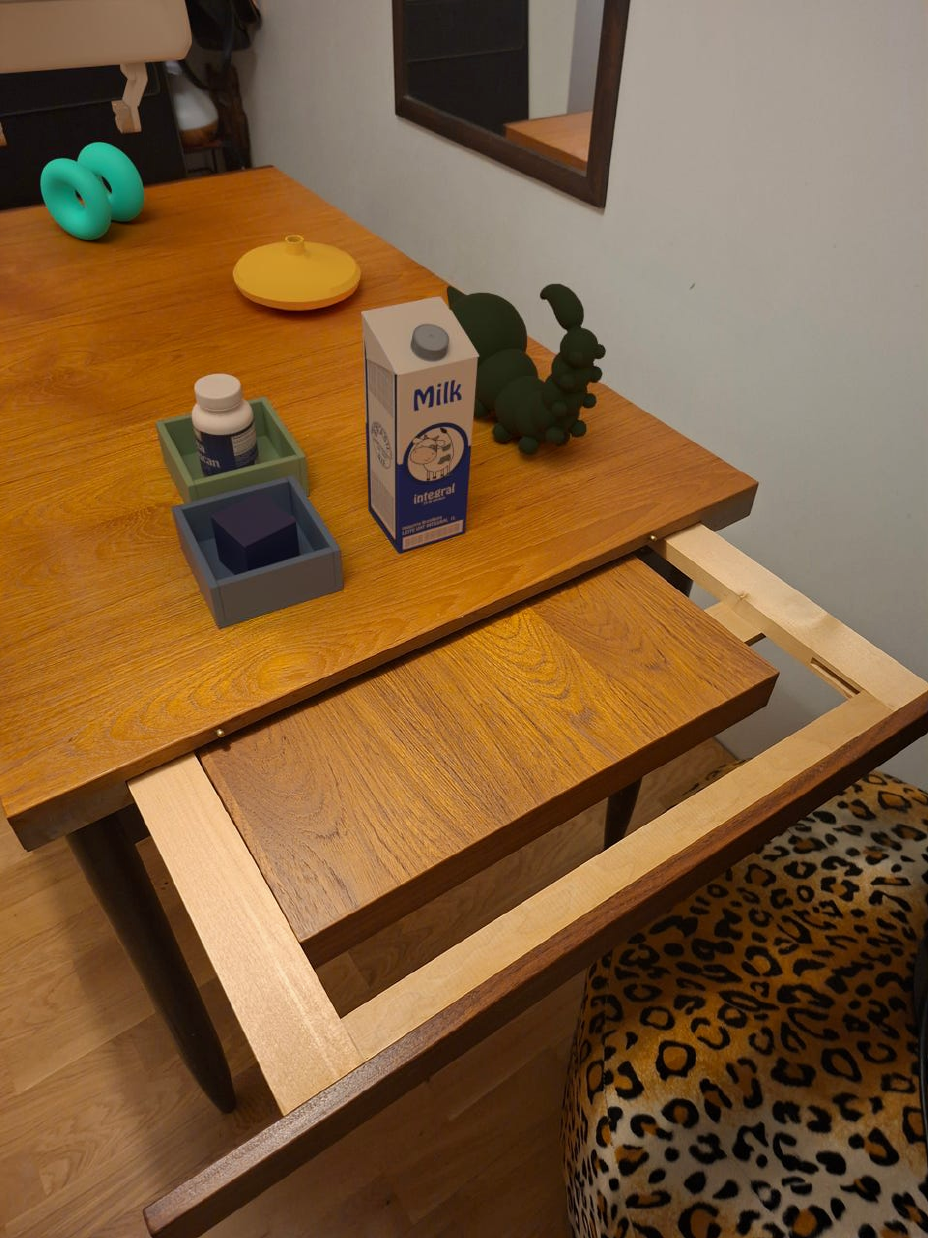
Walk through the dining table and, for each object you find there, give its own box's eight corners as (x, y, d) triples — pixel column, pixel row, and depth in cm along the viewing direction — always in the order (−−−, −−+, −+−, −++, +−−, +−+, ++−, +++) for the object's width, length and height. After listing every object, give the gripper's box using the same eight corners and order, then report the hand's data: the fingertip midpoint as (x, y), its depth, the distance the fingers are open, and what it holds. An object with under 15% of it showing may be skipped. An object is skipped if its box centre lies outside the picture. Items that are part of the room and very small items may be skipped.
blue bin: (218, 629, 70) (209, 588, 67) (180, 547, 76) (170, 506, 73) (343, 589, 74) (341, 549, 71) (297, 514, 80) (293, 474, 77)
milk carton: (433, 491, 84) (441, 292, 69) (467, 532, 80) (481, 331, 65) (366, 510, 81) (359, 308, 67) (397, 554, 77) (396, 350, 63)
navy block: (251, 591, 72) (244, 547, 69) (219, 560, 75) (210, 515, 71) (301, 565, 75) (296, 520, 71) (267, 536, 77) (261, 491, 74)
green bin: (196, 527, 78) (187, 486, 75) (164, 461, 85) (154, 420, 81) (309, 496, 82) (306, 456, 79) (270, 435, 89) (265, 395, 85)
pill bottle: (191, 477, 82) (172, 386, 75) (232, 451, 85) (217, 362, 78) (232, 499, 80) (216, 409, 73) (272, 472, 84) (261, 382, 76)
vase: (371, 273, 115) (370, 219, 110) (348, 331, 104) (346, 274, 99) (254, 261, 116) (247, 207, 110) (219, 318, 105) (210, 260, 100)
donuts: (48, 234, 118) (25, 155, 110) (97, 209, 124) (78, 132, 117) (109, 250, 115) (89, 170, 108) (155, 223, 122) (140, 147, 115)
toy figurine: (596, 475, 90) (476, 344, 103) (644, 311, 75) (497, 181, 88) (519, 500, 86) (405, 361, 99) (554, 333, 72) (415, 194, 84)
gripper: (-191, -97, 48) (-89, 169, 58) (178, -101, 55) (212, 136, 65) (-194, -115, 52) (-98, 138, 62) (152, -116, 59) (188, 110, 69)
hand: (64, 136), depth 64 cm, fingers open, 8 cm apart
